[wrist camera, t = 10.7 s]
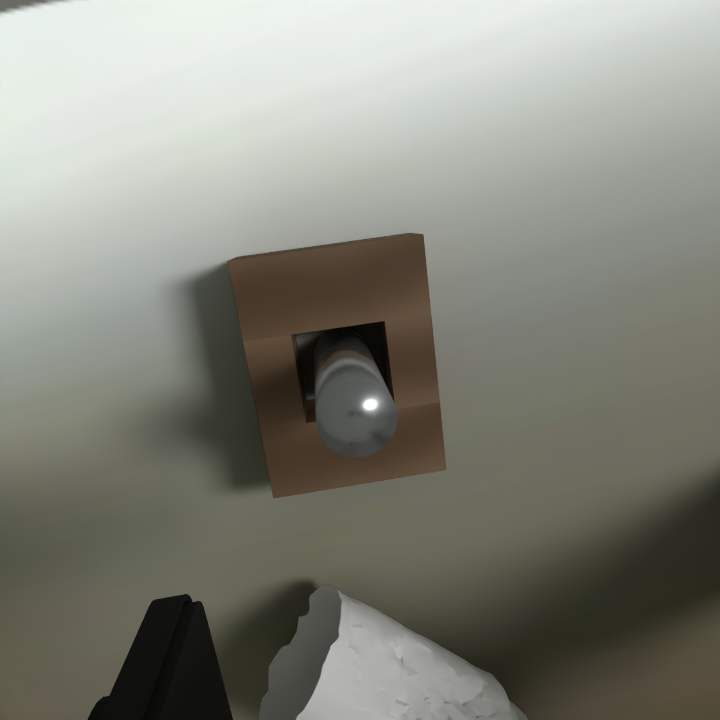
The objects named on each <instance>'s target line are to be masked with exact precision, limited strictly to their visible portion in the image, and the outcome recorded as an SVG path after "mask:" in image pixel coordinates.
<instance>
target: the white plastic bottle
mask: <svg viewBox="0 0 720 720" xmlns="http://www.w3.org/2000/svg"><path fill="white" fill-rule="evenodd" d="M259 720H528V719H527V717H526V715H525V714H524V713H523V712H522V711H521V710H520V709H519V708H518V707H517V706H516V705H515V704H514V703H512V702H510V701H509V699H508V697H507V694H506V692H505V690H504V688H503V687H502V686H501V684H500V683H499V682H498V681H497V680H496V678H495V677H494V676H493V675H492V674H491V673H489V672H486V671H484V670H482V669H480V668H478V667H476V666H473V665H472V664H470V663H469V662H467V661H466V660H464V659H463V658H461V657H459V656H457V655H455V654H454V653H452V652H450V651H448V650H446V649H445V648H443V647H441V646H440V645H438V644H436V643H435V642H433V641H431V640H430V639H428V638H426V637H424V636H421V635H419V634H417V633H415V632H413V631H411V630H410V629H408V628H406V627H405V626H403V625H401V624H400V623H398V622H397V621H395V620H393V619H392V618H390V617H388V616H386V615H385V614H383V613H381V612H380V611H378V610H376V609H374V608H372V607H370V606H368V605H366V604H364V603H362V602H360V601H357V600H355V599H352V598H349V597H347V596H346V595H344V594H342V593H341V592H340V591H339V590H338V588H337V587H336V588H335V587H334V586H333V585H332V584H330V585H323V586H321V587H320V588H318V589H317V590H316V591H315V592H313V593H312V594H311V595H310V596H309V611H308V613H307V615H304V616H301V617H299V620H298V626H297V632H296V633H295V635H294V637H293V639H292V641H291V642H290V644H289V645H286V646H283V647H281V649H280V650H279V652H278V653H277V654H276V656H275V657H274V659H273V660H272V662H271V664H270V665H269V674H268V691H267V693H266V694H265V695H264V697H263V698H262V700H261V706H260V712H259Z"/></svg>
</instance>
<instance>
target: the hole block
mask: <svg viewBox="0 0 720 720" xmlns="http://www.w3.org/2000/svg"><path fill="white" fill-rule="evenodd" d="M227 262H228V267H229V273H230V278H231V283H232V288H233V293H234V298H235V303H236V309H237V314H238V319H239V324H240V329H241V334H242V339H243V345H244V350H245V355H246V360H247V365H248V370H249V375H250V381H251V386H252V391H253V396H254V401H255V406H256V411H257V416H258V422H259V427H260V432H261V437H262V442H263V447H264V452H265V458H266V463H267V468H268V473H269V478H270V483H271V488H272V494H273V498H279V497H285V496H291V495H297V494H303V493H309V492H315V491H321V490H327V489H333V488H339V487H345V486H351V485H358V484H364V483H370V482H376V481H382V480H388V479H394V478H400V477H406V476H412V475H418V474H424V473H431V472H437V471H443V470H446V462H445V451H444V441H443V431H442V421H441V410H440V400H439V390H438V380H437V369H436V359H435V349H434V339H433V328H432V318H431V308H430V298H429V287H428V277H427V267H426V257H425V246H424V236H423V234H415V233H406V234H399V235H392V236H384V237H377V238H370V239H363V240H356V241H348V242H341V243H334V244H327V245H319V246H312V247H305V248H298V249H291V250H283V251H276V252H269V253H262V254H255V255H247V256H240V257H236V258H234V259H232V260H229V261H227ZM374 322H378V330H379V338H380V346H381V354H382V362H383V370H384V378H385V384H386V386H387V388H388V390H389V392H390V395H391V397H392V399H393V401H394V403H395V406H396V409H397V417H398V419H397V426H396V430H395V432H394V434H393V436H392V438H391V439H390V441H389V442H388V443H387V444H386V445H385V446H384V447H383V448H382V449H380V450H379V451H377V452H375V453H373V454H371V455H368V456H364V457H346V456H343V455H340V454H337V453H335V452H334V451H332V450H331V449H329V448H328V447H327V446H326V445H325V444H324V442H323V441H322V440H321V438H320V436H319V434H318V431H317V427H316V412H315V399H312V400H306V396H305V390H304V384H303V378H302V372H301V366H300V360H299V354H298V348H297V342H296V336H295V334H299V333H306V332H313V331H320V330H326V329H333V328H340V327H347V326H354V325H360V324H367V323H374Z"/></svg>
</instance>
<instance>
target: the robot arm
mask: <svg viewBox="0 0 720 720" xmlns="http://www.w3.org/2000/svg"><path fill="white" fill-rule="evenodd" d="M88 720H233V718H232V714H231V710H230V707H229V703H228V699H227V695H226V691H225V687H224V683H223V680H222V676H221V672H220V668H219V664H218V660H217V656H216V653H215V649H214V645H213V641H212V637H211V633H210V629H209V626H208V622H207V618H206V614H205V610H204V607H203V604H202V603H201V602H200V601H197V602H192V599H191V597H190V596H189V595H187V594H184V595H178V596H173V597H167V598H161V599H156V600H154V601H152V602H151V604H150V606H149V608H148V610H147V612H146V614H145V617H144V619H143V621H142V623H141V626H140V628H139V630H138V632H137V635H136V637H135V639H134V641H133V644H132V646H131V648H130V651H129V653H128V655H127V657H126V660H125V662H124V664H123V666H122V669H121V671H120V673H119V675H118V678H117V680H116V682H115V684H114V687H113V689H112V691H111V693H110V696H106V697H103V698H101V699H100V700H99V701H98V702H97V703H96V705H95V706H94V708H93V710H92V711H91V713H90V716H89V718H88Z"/></svg>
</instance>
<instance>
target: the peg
mask: <svg viewBox="0 0 720 720" xmlns="http://www.w3.org/2000/svg"><path fill="white" fill-rule="evenodd" d="M314 376H315V412H316V427H317V431H318V434H319V436H320V438H321V440H322V441H323V442H324V444H325V445H326V446H327V447H328V448H329V449H331V450H332V451H334V452H335V453H337V454H340V455H343V456H346V457H364V456H368V455H371V454H373V453H375V452H377V451H379V450H380V449H382V448H383V447H384V446H385V445H386V444H387V443H388V442H389V441H390V439H391V438H392V436H393V434H394V432H395V430H396V426H397V419H398V417H397V409H396V406H395V403H394V401H393V399H392V397H391V395H390V392H389V390H388V388H387V386H386V384H385V382H384V380H383V378H382V376H381V374H380V371H379V369H378V367H377V365H376V363H375V361H374V359H373V357H372V355H371V353H370V350H369V348H368V346H367V344H366V342H365V340H364V339H363V338H362V337H361V335H359V334H358V333H357V332H355V331H353V330H351V329H347V328H336V329H333V330H330V331H328V332H326V333H325V334H324V335H322V336H321V338H320V339H319V340H318V342H317V344H316V346H315V350H314Z"/></svg>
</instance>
